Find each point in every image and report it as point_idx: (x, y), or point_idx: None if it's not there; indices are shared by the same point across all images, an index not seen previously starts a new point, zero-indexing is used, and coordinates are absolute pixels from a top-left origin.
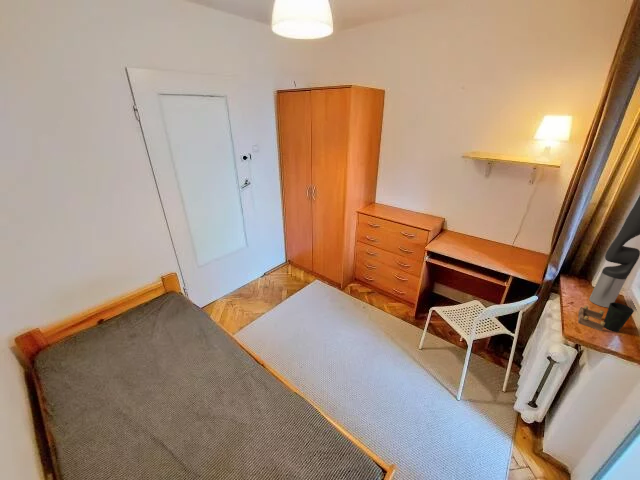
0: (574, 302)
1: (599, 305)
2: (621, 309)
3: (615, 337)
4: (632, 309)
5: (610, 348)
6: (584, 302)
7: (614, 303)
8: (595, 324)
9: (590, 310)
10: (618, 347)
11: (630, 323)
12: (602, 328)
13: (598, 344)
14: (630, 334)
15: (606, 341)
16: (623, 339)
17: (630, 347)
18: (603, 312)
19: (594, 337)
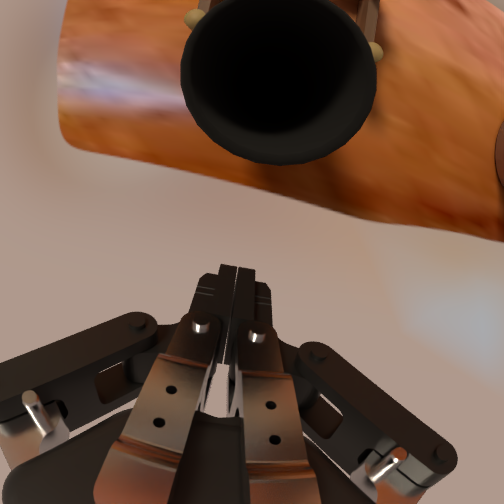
0: (467, 20)
1: (498, 134)
2: (339, 109)
3: (173, 94)
4: (287, 159)
5: (61, 72)
6: (495, 73)
7: (354, 40)
8: (201, 3)
9: (372, 11)
10: (86, 98)
11: (392, 214)
12: None
13: (66, 34)
14: (261, 174)
15: (106, 57)
16: (177, 127)
17: (118, 143)
18: None
19: (112, 16)
